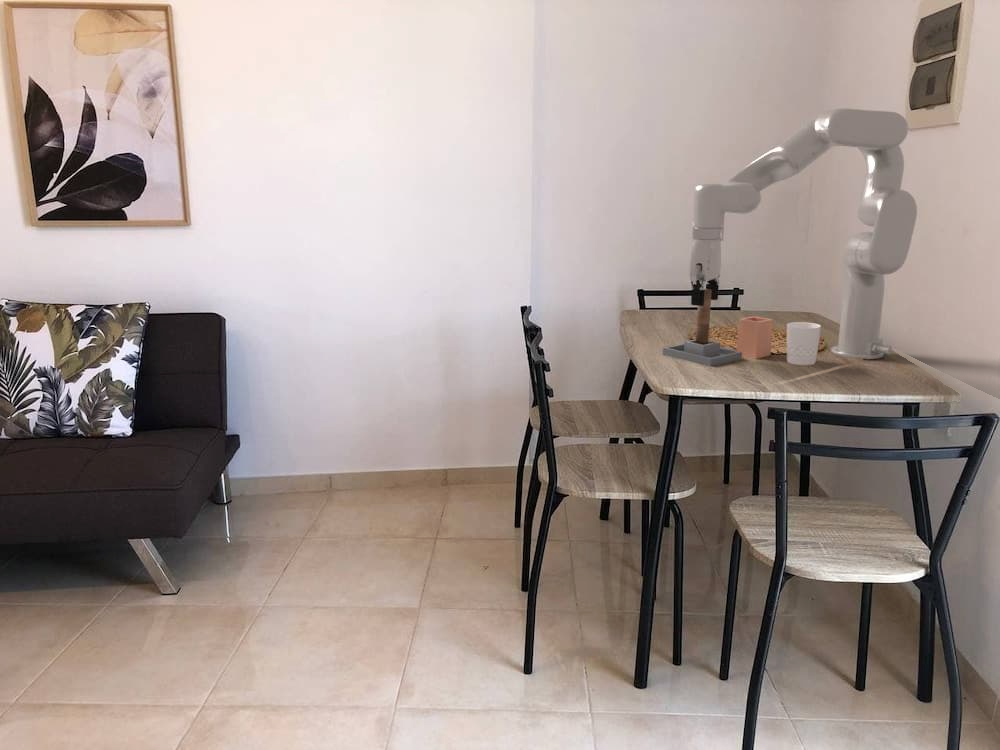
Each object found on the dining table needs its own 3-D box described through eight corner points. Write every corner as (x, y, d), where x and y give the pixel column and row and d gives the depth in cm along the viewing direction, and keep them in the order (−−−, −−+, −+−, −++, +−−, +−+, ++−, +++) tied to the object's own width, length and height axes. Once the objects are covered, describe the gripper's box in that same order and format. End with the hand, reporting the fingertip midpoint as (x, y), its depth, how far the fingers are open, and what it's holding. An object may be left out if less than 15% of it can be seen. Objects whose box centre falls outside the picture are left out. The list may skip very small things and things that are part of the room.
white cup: (801, 369, 192) (805, 329, 189) (777, 362, 199) (780, 324, 196) (824, 365, 195) (828, 326, 193) (799, 358, 202) (802, 320, 200)
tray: (741, 361, 201) (742, 344, 200) (710, 368, 194) (711, 350, 193) (693, 350, 214) (694, 334, 212) (662, 356, 207) (663, 340, 206)
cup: (770, 357, 204) (773, 319, 202) (755, 360, 201) (758, 322, 198) (751, 353, 209) (753, 316, 206) (736, 356, 206) (738, 319, 203)
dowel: (709, 355, 203) (714, 290, 199) (701, 356, 202) (705, 291, 197) (700, 353, 206) (704, 288, 202) (692, 354, 204) (696, 289, 200)
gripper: (706, 231, 205) (702, 296, 209) (680, 237, 191) (677, 306, 195) (734, 232, 200) (730, 298, 205) (709, 238, 187) (706, 309, 191)
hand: (704, 302), depth 200 cm, fingers open, 9 cm apart
